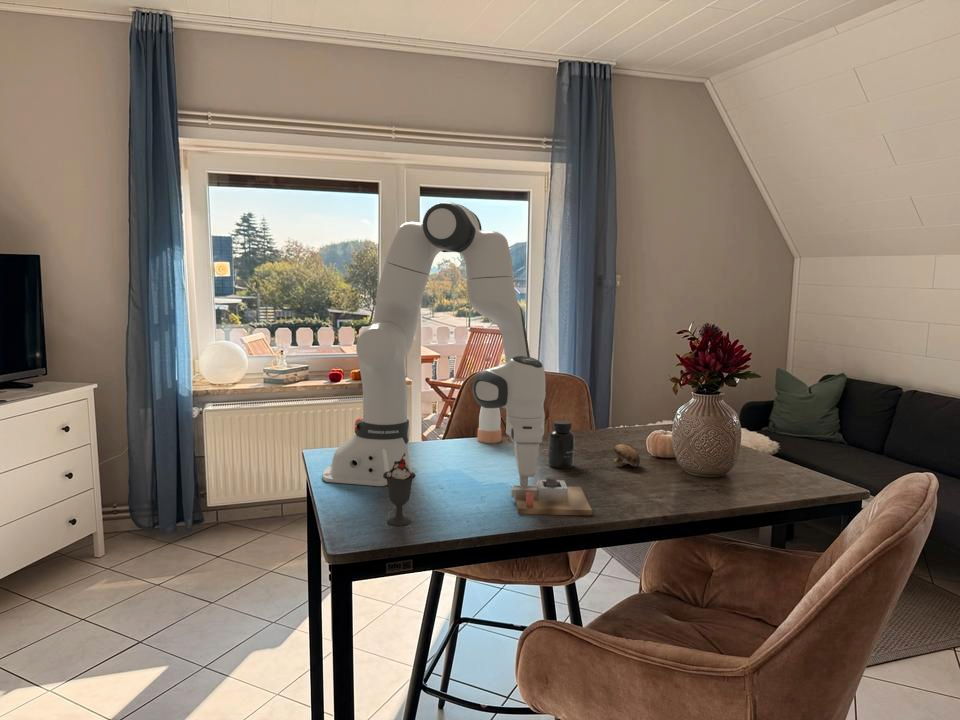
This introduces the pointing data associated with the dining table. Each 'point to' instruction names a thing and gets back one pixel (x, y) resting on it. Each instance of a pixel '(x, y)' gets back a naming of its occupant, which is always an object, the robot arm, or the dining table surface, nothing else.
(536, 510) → the post base
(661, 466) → the dining table surface
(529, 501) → the dowel pin
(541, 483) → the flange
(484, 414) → the pepper shaker
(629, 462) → the mushroom
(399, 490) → the sundae
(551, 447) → the supplement bottle
